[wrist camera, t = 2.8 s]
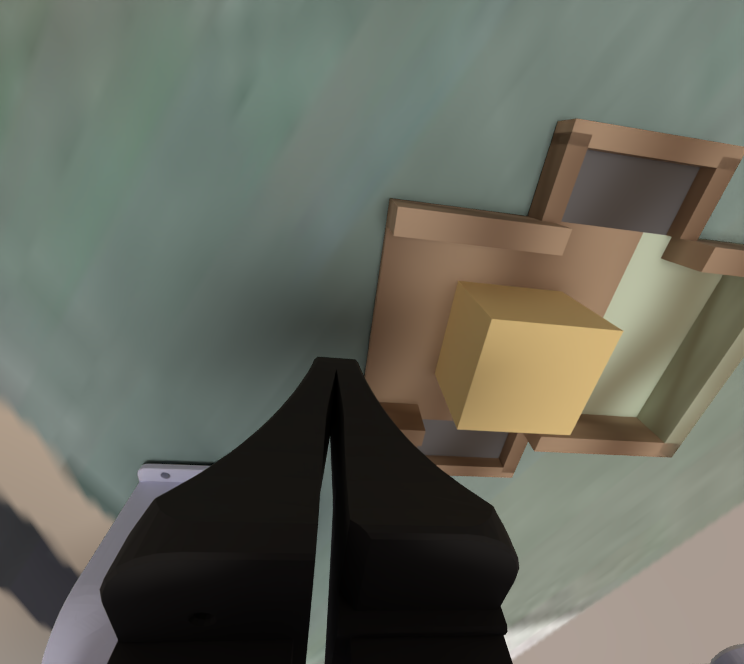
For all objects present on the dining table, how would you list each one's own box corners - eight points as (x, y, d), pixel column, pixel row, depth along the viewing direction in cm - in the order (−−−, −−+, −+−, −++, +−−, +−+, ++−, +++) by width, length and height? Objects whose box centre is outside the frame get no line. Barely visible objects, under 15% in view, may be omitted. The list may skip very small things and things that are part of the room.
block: (434, 373, 18) (457, 429, 14) (458, 280, 15) (491, 318, 12) (526, 380, 18) (570, 435, 15) (562, 291, 16) (623, 330, 12)
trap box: (353, 455, 21) (354, 492, 18) (404, 95, 12) (416, 83, 10) (612, 466, 23) (640, 500, 20) (800, 161, 14) (882, 163, 12)
